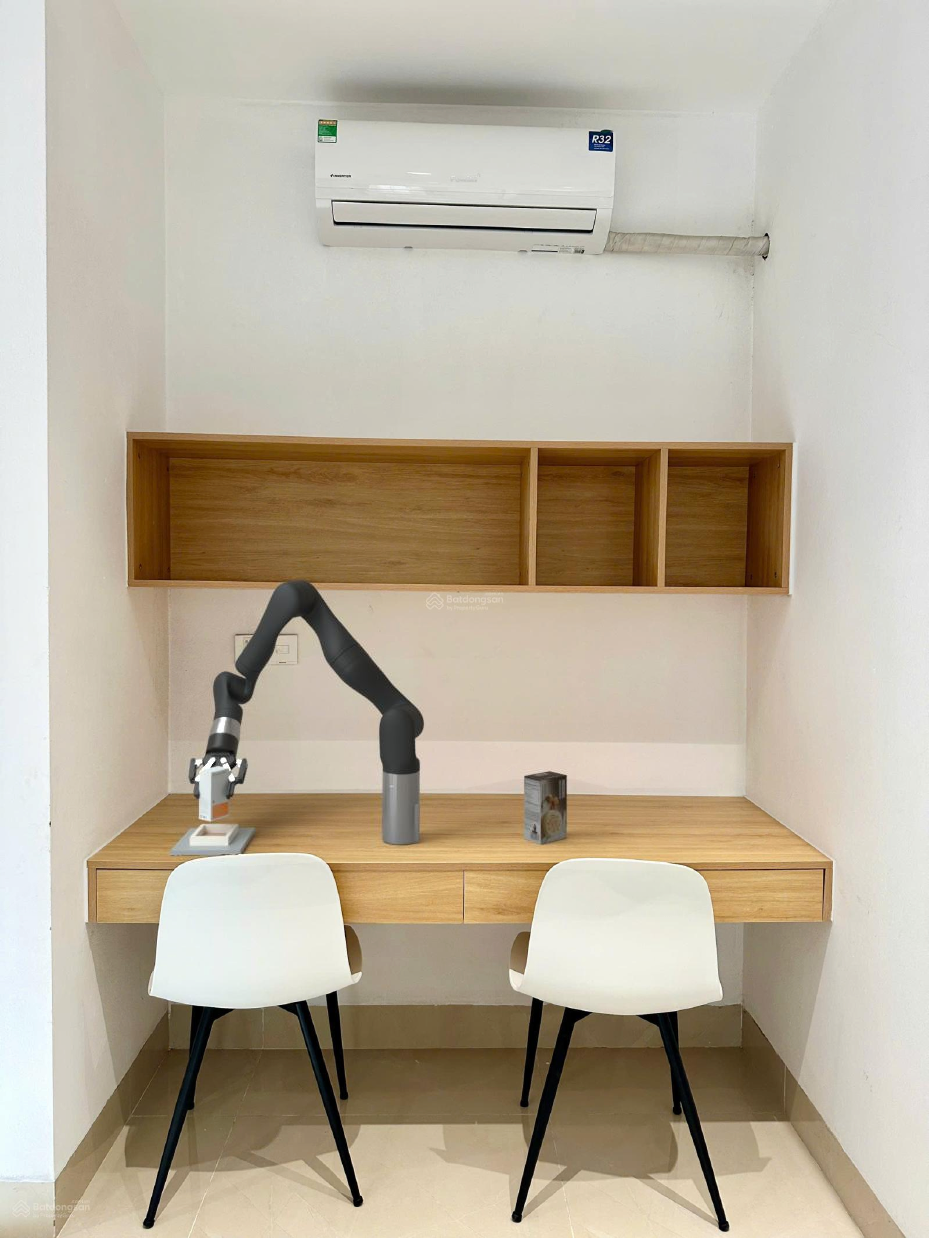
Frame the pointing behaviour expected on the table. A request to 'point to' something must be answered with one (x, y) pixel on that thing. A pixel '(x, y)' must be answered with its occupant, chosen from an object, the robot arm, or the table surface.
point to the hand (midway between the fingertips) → (212, 797)
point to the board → (213, 840)
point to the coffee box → (545, 807)
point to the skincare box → (213, 793)
